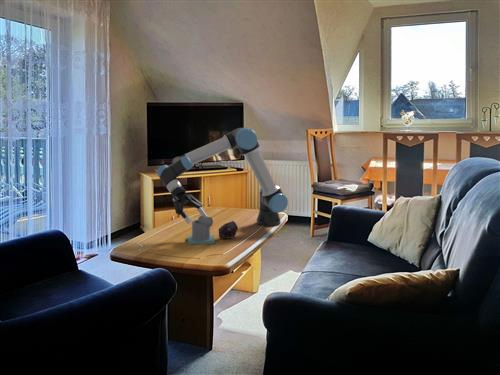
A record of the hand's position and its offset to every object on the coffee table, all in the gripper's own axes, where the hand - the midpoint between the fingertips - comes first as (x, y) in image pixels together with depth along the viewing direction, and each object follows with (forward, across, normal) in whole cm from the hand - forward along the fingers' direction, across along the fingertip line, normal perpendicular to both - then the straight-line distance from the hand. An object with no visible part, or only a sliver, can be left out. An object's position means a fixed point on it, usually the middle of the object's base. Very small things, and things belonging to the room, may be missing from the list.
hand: (198, 220), depth 236 cm
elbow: (+8, 0, -6) cm, 10 cm away
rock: (+16, -15, -1) cm, 21 cm away
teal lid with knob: (+9, 0, -7) cm, 11 cm away
